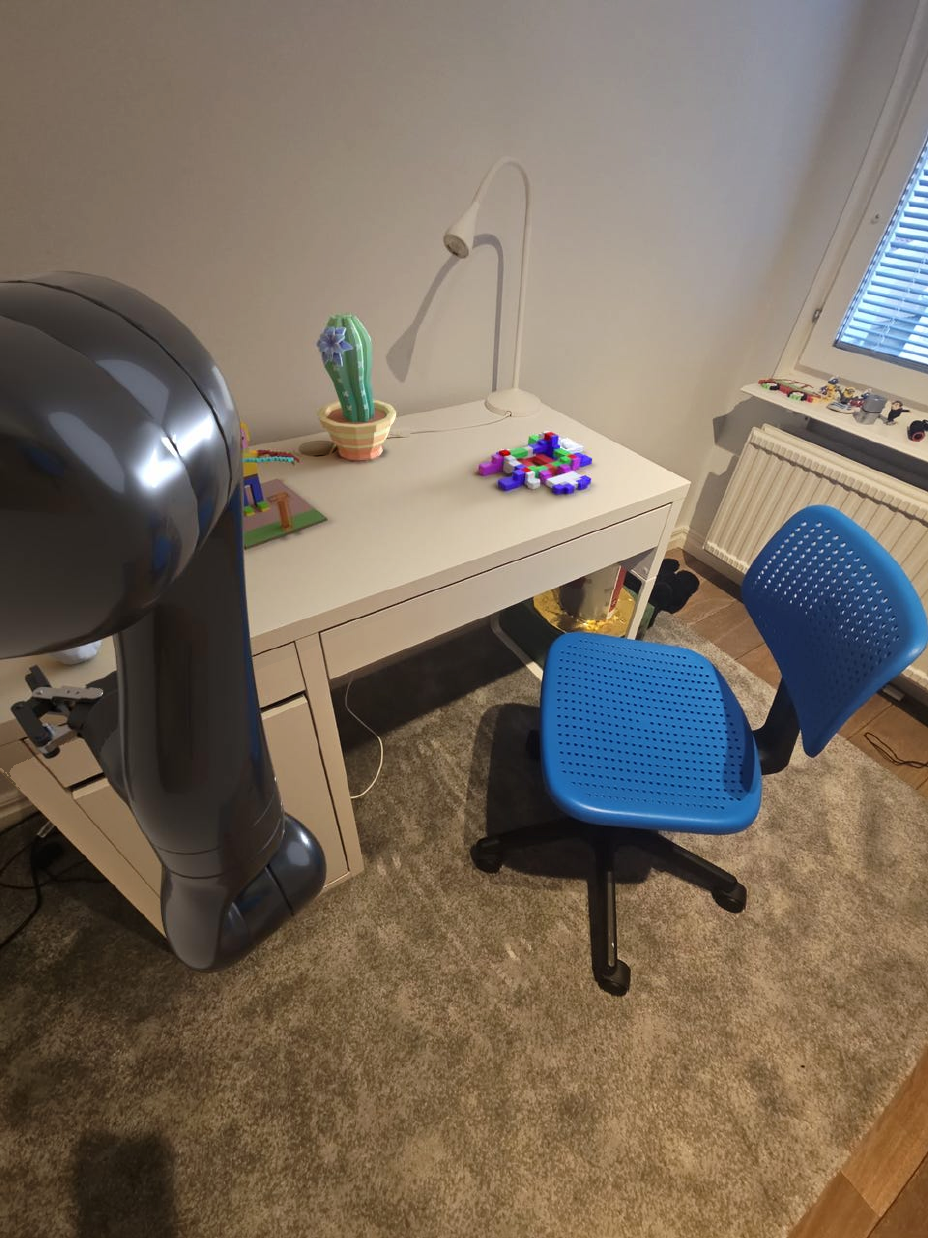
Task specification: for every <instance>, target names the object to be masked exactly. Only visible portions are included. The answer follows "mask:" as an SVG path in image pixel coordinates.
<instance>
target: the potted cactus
mask: <svg viewBox="0 0 928 1238" xmlns="http://www.w3.org/2000/svg"><path fill="white" fill-rule="evenodd" d="M315 344H316V347H317V348H318V353H320V356H321V361H322V365H323V367H324V369H325V370H326V372H327V374H328V376H329V378H330V380H331V382H332V383H333V386H334V389H335V392H336V395H337V398H338V400H337V401H334V402H331V403H328V404H325V405H323V406H322V407H321V408H320V409H319V410H317V412H316V414H317V417H318V420H319V422H320V424H321V426H322V428H323V429H326V431H327V433H328V435H329V437H330V439H331V441H332V442H333V444H334V445H335V446H336V447H337V448H338V449H337V450H338V452H337V453H338V454H339V456H340V457H341V458H345V459H347V460H352V461H365V460H373V459H375V458H377V457H379V456H381V454H382V453H383V451H384V450H383V447H382V445H383V443H384V442H385V440H386V439H387V437H388V435H389V433H390V429H391V426H392V425H393V424H394V422H395V420H396V416H397V411H396V410H395V408H394V407H393V406H392V405H391V404H389V403H386V402H383V401H380V400H378V399H374V394H373V393H374V392H373V388H372V381H371V376H372V369H373V341H372V338H371V337H370V334H369V332H368V331H367V329H366V328H365V326H364V325H363V323H361V321H360V320H359V319H358V317H357V316H356V315H355V314H352V315H351V313H350V312H346V313H345V314H344V315H343V314H340V313H339V312H338V313H335V316H333V315H330V317H329V319H328V321H327V323H326V325H325V327H324V329H323V331H322V332H321V333H320V334H319V339H318V340H317V342H316V343H315Z"/></svg>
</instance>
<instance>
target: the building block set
mask: <svg viewBox="0 0 928 1238" xmlns="http://www.w3.org/2000/svg"><path fill="white" fill-rule="evenodd" d="M527 440H528V441H527V445H525V446H519V447H516V448H512V449H510V448H502V449H498V451H496V452H495V454H492V455H491V460H489V461H486V462H482V463H479V464H478V470H477V471H478V473H479V474H480V475H481V476H483V477H484V476H488V475H491V474H495V473H498V472H501V471H503V472H504V473H506V474H511V473H512V475H509V476H507V477H503V478H499V479H497V487H498V488H500V489H502V490H503V491H505V492H508V491H511V490H514V489H517V488H520V486H522V485H526V486H527V489H531V490H535V489H538V488H540V487H541V483H542V484H544V485H546V486H548V487H549V488H550V489H551V492H552V493H554V494H556V495H557V496H559V495H561V494H564V493H565V495H571V494H573V493H574V492H575V490H576V489H578V490H580V491H581V490H585V489H588V486H589V485H591V484H592V483H591V482H592V477H590V476H588V475H586V474H584V475H581V474H579V473H578V472H576V471H578V470H580V468H582V467H587V466H589V465H591V464H592V462H593V457H591V456H588V455H586V454H583V453H582V452H583V451H584V446H583V445H581V444H580V443H578V442H576V441H574V440H571V439H570V438H567V437H566V438H563V439H562V437H560V436H559V435H558V434H556V433H554V432H552V431H550V430H544V431H542V432H539V433H538V434H532V435H528V439H527ZM533 462H535V464H538V465H539V466H538V465H535V464H534V463H533ZM554 475H555V476H554Z"/></svg>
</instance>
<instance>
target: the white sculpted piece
mask: <svg viewBox="0 0 928 1238" xmlns="http://www.w3.org/2000/svg"><path fill="white" fill-rule="evenodd" d="M101 645H102V640H99V641H96V642H93V643H90V644H87V645H85V646H80V647H76V648H72V649H68V650H64V651H58V652H53V653H48V655H49V656H50V657H51V658H52V659H55V660H56V661H58V662H60V663H62V665H63V664H64V665H76V664H80V663H83V662H86V661H89V660H91V659H92V658H94V657H95V656H96V655H97V652H98V650H99V649H100V647H101Z"/></svg>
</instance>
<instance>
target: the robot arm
mask: <svg viewBox="0 0 928 1238" xmlns="http://www.w3.org/2000/svg"><path fill="white" fill-rule="evenodd" d="M240 422H241V420H240V415H239V410H238V408H237V405H236V402H235V400H234V396H233V394H232V392H231V388H230V387H229V384H228V381H227V378H226V377H225V376H224V374H223V372H222V371H221V368H220V367H219V366H218V363H217V361H216V360H215V359H214V357H213V355H212V354H211V352H210V351H209V349H207V347H206V346H205V345H204V344H203V343H202V341H201V340H200V339H199V338H198V337H197V336H196V334H195V333H194V332H193V331H192V329H191V328H189V327H188V326H187V325H186V324H185V323H184V322H182V320H181V319H179V318H178V317H177V316H176V315H175V314H173V313H172V312H171V310H169V309H168V308H166V307H165V306H164V305H162V304H160V302H158V301H156V300H154V299H153V298H151V297H149V296H148V295H147V294H145V293H143V292H141V291H140V290H138V289H137V288H134V287H132V286H129V285H127V284H124V283H122V282H119V281H117V280H114V279H112V278H110V277H107V276H102V275H97V274H92V273H87V272H83V271H76V270H75V271H74V270H52V271H44V272H43V271H41V272H33V273H29V274H23V275H19V276H15V277H10V278H4V279H1V280H0V661H4V660H10V659H17V658H25V657H26V658H27V657H32V656H33V657H34V656H40V655H47V654H48V655H49V653H53V652H58V651H64V650H68V649H72V648H76V647H80V646H85V645H87V644H90V643H93V642H96V641H99V640H101V641H102V640H105V639H107V638H110V637H112V643H113V648H114V655H115V656H114V657H115V669H116V670H114V671H112V672H110V673H108V674H107V675H106V676H104V677H101V678H98V679H95V680H93V681H90V682H88V683H86V684H85V687H77V686H69V685H62V686H61V687H60V688H57V687H53V686H52V684H51V683H50V681H49V680H48V678H47V676H46V675H45V674H44V671H42V669H41V667H40V666H39V665H38V664H35V665H33V666H30V667H28V669H29V671H30V672H29V673H27V674H25V676H24V681H25V682H26V684H27V686H28V688H29V689H30V691H31V696H30V698H29V699H27V700H26V701H25V700H20V701H16V702H15V703H13V704H12V705H11V707H10V711H11V713H12V715H13V716H14V718H15V719H16V720H17V722H18V723H19V725H20V727H21V728H22V730H23V731H24V733H25V734H26V736H27V737H28V739H29V740H30V741H31V743H32V744H33V745H34V747H35V748H36V749H37V750H38V751H39V753H40V754H41V755H42V756H43V757H44V759H46V760H50V759H53V758H56V757H57V756H59V754H60V753H61V748H60V746H62V745H63V744H66V743H67V742H69V741H71V740H72V739H74V738H78V739H82V740H84V742H85V744H86V745H87V747H88V749H89V750H90V752H91V754H92V756H93V757H94V759H95V761H96V762H97V764H98V766H99V767H100V769H101V771H102V772H103V774H104V776H105V778H106V779H107V783H108V784H109V785H110V786H111V788H112V789H113V791H114V792H115V794H116V795H117V796H118V797H119V798H120V799H121V800H122V801H123V802H124V804H126V806H127V808H128V809H129V811H130V812H131V814H132V817H134V819H135V821H136V824H137V826H138V827H139V829H140V831H141V833H142V834H143V836H144V837H145V839H146V841H147V843H148V844H149V846H150V848H151V849H152V851H153V853H154V854H155V856H156V857H157V859H158V862H159V863H160V865H161V866H160V867H161V877H160V889H159V905H160V906H159V907H160V916H161V918H160V919H161V923H162V928H163V932H164V935H165V937H166V941H167V943H168V945H169V947H170V949H171V951H172V952H173V954H174V956H175V957H176V958H177V960H178V961H179V962H181V963H182V965H184V966H185V967H186V968H187V969H189V970H191V971H194V972H196V973H201V974H218V973H221V972H223V971H227V970H229V969H230V968H232V967H234V966H236V965H237V964H239V963H240V962H241V961H243V960H244V959H246V958H247V957H248V956H249V955H250V954H252V952H254V951H255V950H256V949H257V948H258V947H259V946H260V945H262V944H263V943H264V942H266V941H267V940H268V939H269V938H270V937H272V936H273V935H274V934H275V933H277V931H279V930H280V929H281V928H283V926H285V925H287V923H288V922H290V921H291V920H292V918H295V917H296V916H297V915H298V914H299V913H301V912H302V911H303V910H304V909H305V908H306V907H308V906H309V905H310V904H311V903H312V902H313V901H315V899H316V898H317V897H318V896H319V895H320V893H321V892H322V890H323V889H324V887H325V883H326V880H327V872H328V868H327V867H328V866H327V859H326V854H325V852H324V848H323V847H322V845H321V843H320V841H319V840H318V838H317V837H316V835H315V834H314V833H313V832H312V830H311V829H310V828H309V827H307V826H306V825H305V824H304V823H303V822H302V821H300V820H299V819H298V818H296V817H295V816H293V815H292V814H290V813H289V812H287V811H286V810H285V808H284V803H283V800H282V796H281V792H280V789H279V783H278V780H277V776H276V772H275V767H274V764H273V761H272V760H273V759H272V757H271V753H270V749H269V745H268V739H267V735H266V731H265V726H264V721H263V715H262V711H261V705H260V700H259V692H258V685H257V680H256V671H255V666H254V658H253V650H252V641H251V631H250V620H249V608H248V597H247V583H246V568H245V567H246V566H245V547H244V487H245V486H244V478H243V447H242V433H241V424H240ZM45 715H53V716H62V717H65V718H67V719H66V724H65V725H60V726H59V725H57V724H56V723H49V722H48V721H46V722H42V721H41V718H42V717H43V716H45Z"/></svg>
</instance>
